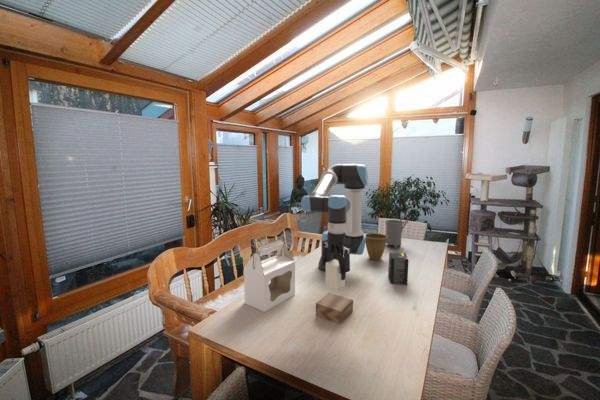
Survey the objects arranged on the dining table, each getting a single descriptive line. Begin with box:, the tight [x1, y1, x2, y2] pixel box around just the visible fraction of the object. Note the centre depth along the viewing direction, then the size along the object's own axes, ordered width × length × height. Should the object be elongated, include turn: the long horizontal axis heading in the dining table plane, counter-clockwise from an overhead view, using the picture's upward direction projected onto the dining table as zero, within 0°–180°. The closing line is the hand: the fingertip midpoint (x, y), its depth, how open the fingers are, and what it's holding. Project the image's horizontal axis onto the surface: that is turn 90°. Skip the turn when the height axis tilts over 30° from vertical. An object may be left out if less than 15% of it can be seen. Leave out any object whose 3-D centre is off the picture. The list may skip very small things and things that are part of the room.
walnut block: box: [315, 292, 354, 325], centre depth 126 cm, size 12×12×6 cm
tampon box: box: [387, 251, 409, 286], centre depth 161 cm, size 11×9×15 cm
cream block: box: [324, 259, 346, 290], centre depth 124 cm, size 6×6×10 cm
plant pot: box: [364, 233, 387, 261], centre depth 196 cm, size 15×15×16 cm
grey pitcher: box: [385, 215, 410, 250], centre depth 223 cm, size 19×15×25 cm
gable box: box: [243, 239, 296, 313], centre depth 138 cm, size 22×13×28 cm, turn 142°
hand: (335, 283), depth 125 cm, fingers closed on cream block, 6 cm apart
